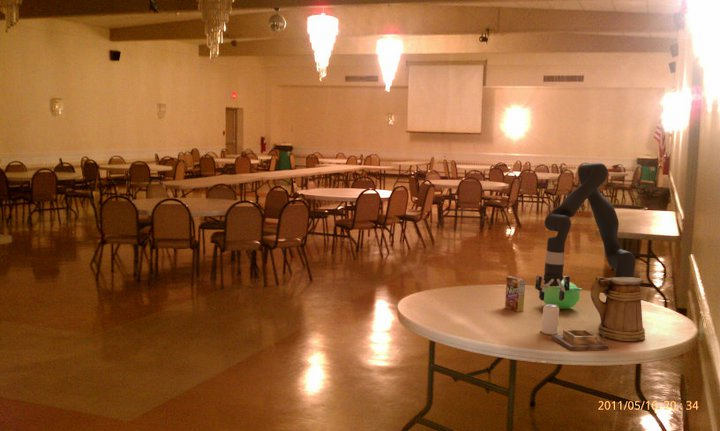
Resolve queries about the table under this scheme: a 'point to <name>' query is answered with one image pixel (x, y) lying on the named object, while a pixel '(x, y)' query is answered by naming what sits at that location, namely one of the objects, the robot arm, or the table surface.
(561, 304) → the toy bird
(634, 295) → the tankard
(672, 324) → the table surface
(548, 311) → the can
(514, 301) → the candy box
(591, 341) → the socket stand
